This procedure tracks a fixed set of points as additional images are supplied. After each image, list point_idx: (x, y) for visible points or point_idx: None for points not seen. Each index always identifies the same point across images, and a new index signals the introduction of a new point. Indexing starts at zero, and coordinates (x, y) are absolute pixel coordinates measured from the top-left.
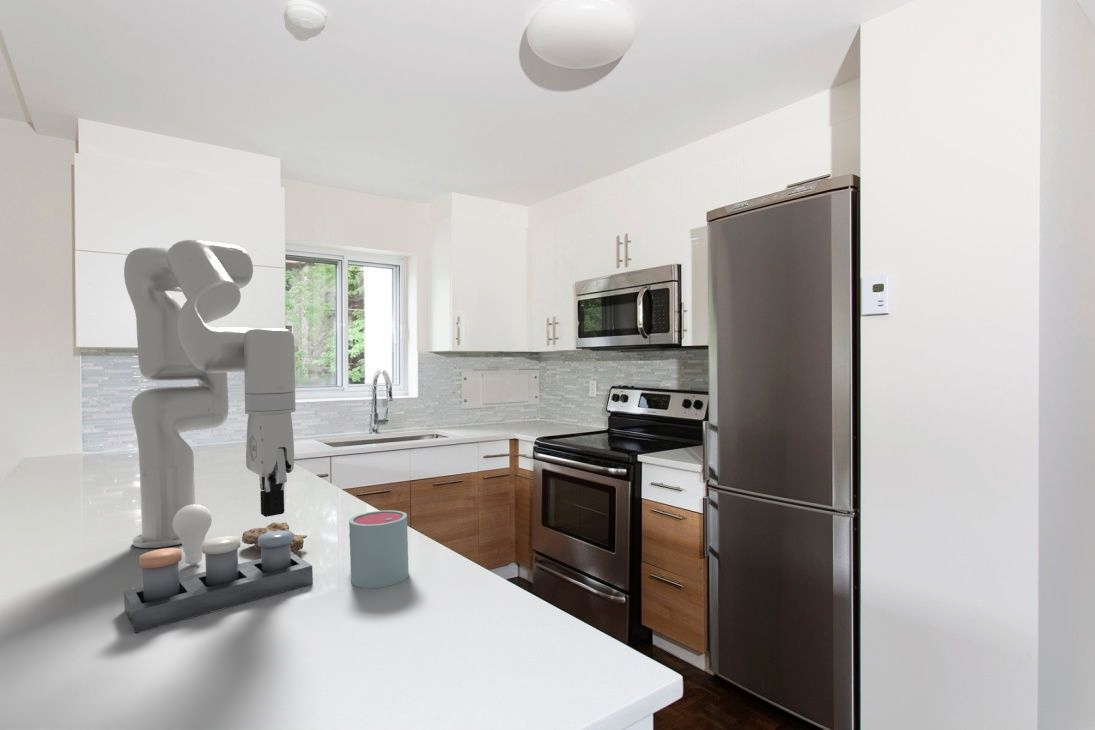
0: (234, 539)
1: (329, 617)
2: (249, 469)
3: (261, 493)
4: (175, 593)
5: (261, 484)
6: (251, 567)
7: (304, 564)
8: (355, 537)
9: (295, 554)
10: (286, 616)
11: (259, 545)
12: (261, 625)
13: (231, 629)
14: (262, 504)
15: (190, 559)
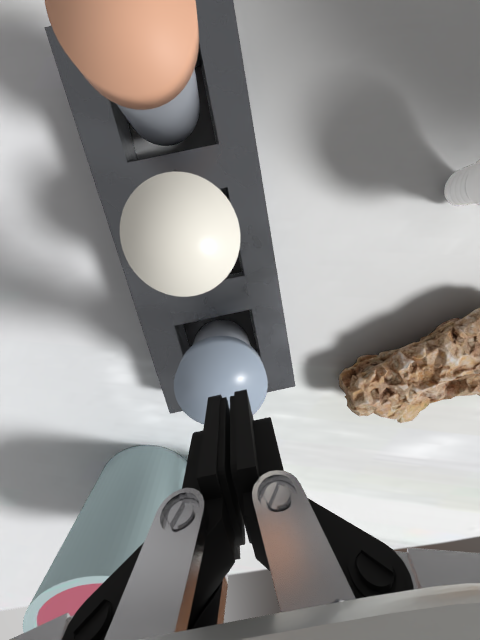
0: (178, 279)
1: (2, 397)
2: (393, 618)
3: (235, 461)
4: (139, 133)
5: (296, 505)
6: (232, 304)
7: None
8: (78, 543)
9: (340, 385)
10: (37, 339)
11: (205, 339)
12: (12, 299)
13: (15, 251)
14: (233, 420)
15: (454, 177)
